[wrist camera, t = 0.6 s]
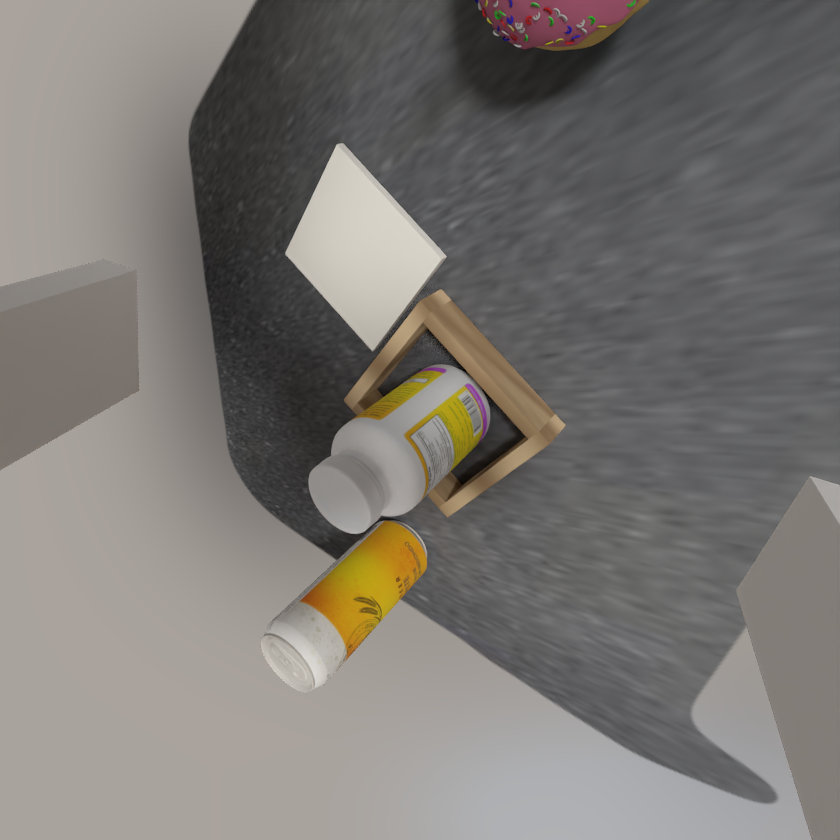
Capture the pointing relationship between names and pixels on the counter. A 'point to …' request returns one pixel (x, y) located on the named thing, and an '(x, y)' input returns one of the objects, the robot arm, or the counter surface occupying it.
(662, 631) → the counter surface
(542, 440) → the oak holder
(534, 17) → the cupcake
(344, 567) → the beer can
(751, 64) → the counter surface
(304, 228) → the plate
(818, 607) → the robot arm
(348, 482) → the supplement bottle
